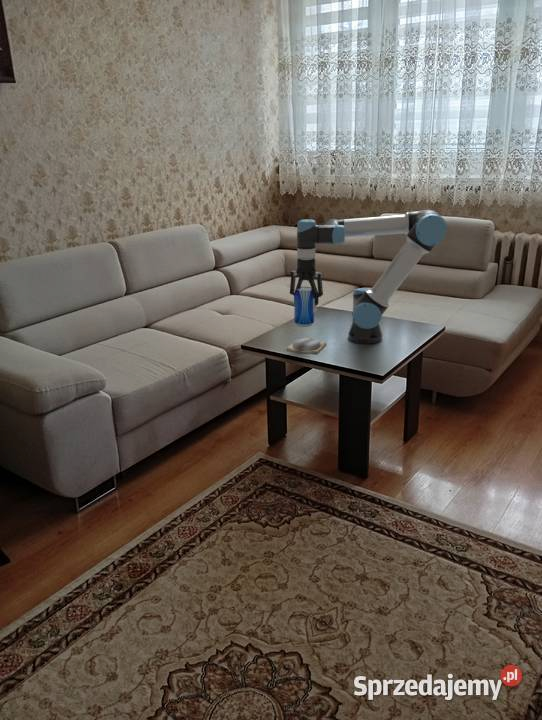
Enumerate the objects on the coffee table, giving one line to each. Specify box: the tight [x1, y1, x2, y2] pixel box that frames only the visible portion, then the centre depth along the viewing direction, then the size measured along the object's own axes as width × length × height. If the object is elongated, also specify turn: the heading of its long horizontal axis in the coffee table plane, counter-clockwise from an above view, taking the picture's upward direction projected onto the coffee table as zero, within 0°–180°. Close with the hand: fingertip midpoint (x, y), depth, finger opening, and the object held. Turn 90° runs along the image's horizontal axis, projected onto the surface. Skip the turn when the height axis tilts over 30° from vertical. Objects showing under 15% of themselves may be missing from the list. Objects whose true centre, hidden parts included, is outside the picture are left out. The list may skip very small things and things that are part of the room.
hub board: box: [286, 337, 327, 355], centre depth 266 cm, size 14×12×2 cm
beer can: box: [293, 286, 315, 328], centre depth 260 cm, size 8×8×16 cm
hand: (306, 311), depth 261 cm, fingers closed on beer can, 7 cm apart
